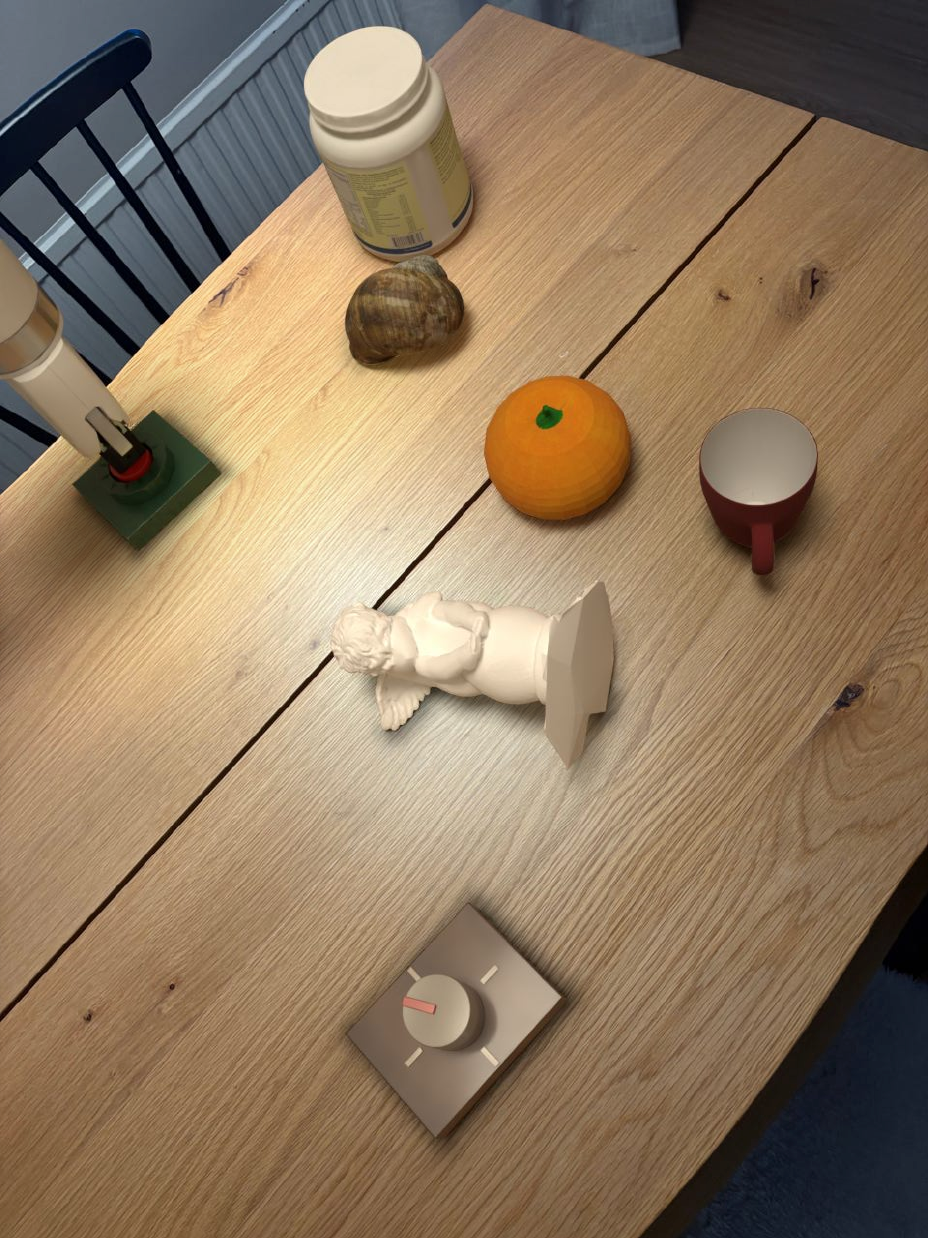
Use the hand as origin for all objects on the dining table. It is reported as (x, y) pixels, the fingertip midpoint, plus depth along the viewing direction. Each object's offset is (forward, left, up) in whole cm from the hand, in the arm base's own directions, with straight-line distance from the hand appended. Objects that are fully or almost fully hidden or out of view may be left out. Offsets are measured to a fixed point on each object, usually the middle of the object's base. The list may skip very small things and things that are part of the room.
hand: (129, 458), depth 96 cm
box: (0, 0, -4) cm, 4 cm away
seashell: (+26, -8, -5) cm, 27 cm away
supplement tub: (+36, +2, -5) cm, 36 cm away
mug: (+29, -45, -5) cm, 54 cm away
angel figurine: (+6, -37, -5) cm, 38 cm away
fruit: (+24, -29, -5) cm, 38 cm away
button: (0, 0, -2) cm, 2 cm away
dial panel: (-12, -53, -4) cm, 55 cm away
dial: (-12, -53, -2) cm, 54 cm away
